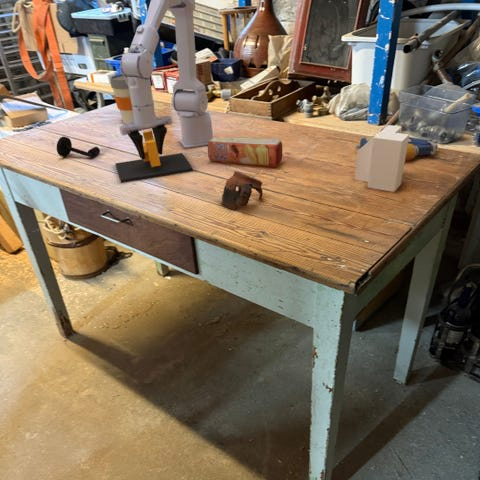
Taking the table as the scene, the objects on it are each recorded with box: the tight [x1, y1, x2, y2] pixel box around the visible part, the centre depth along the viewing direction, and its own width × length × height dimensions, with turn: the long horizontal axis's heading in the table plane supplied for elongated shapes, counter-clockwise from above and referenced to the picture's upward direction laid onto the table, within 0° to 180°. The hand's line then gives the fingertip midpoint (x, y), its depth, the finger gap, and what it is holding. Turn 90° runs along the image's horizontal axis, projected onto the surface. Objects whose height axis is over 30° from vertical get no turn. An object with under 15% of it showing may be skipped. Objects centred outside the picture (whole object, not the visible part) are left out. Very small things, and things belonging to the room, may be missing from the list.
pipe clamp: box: [142, 129, 161, 167], centre depth 132 cm, size 12×4×6 cm, turn 14°
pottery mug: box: [221, 170, 263, 211], centre depth 111 cm, size 12×10×8 cm
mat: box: [115, 152, 194, 183], centre depth 135 cm, size 20×14×1 cm
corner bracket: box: [354, 124, 410, 193], centre depth 116 cm, size 11×11×12 cm
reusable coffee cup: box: [109, 73, 135, 125], centre depth 170 cm, size 13×13×15 cm
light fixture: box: [56, 136, 101, 159], centre depth 147 cm, size 6×11×13 cm
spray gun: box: [355, 135, 439, 162], centre depth 133 cm, size 21×4×15 cm
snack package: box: [207, 136, 283, 168], centre depth 133 cm, size 21×7×7 cm, turn 67°
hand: (151, 155), depth 133 cm, fingers closed on pipe clamp, 5 cm apart
